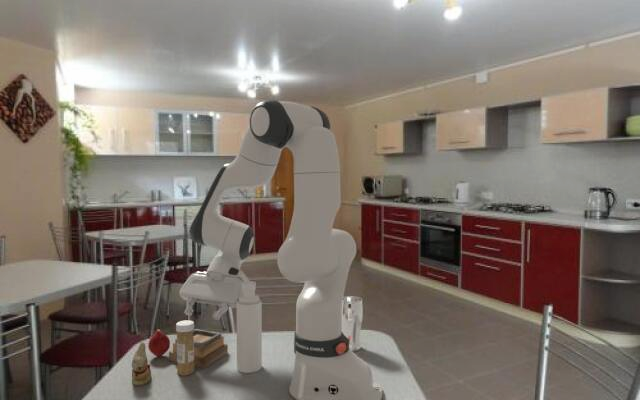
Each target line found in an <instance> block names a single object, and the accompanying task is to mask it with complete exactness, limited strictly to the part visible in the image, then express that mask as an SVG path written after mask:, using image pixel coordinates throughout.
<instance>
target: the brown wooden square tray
mask: <svg viewBox="0 0 640 400" xmlns="http://www.w3.org/2000/svg"><path fill="white" fill-rule="evenodd" d="M193 337H194V367H198V368H202V369H204V368H207V367H208V366H210V365H211V364H213V363H214V362H216V361H218V360H219V359H221V358H222V357H224V356H225V355H227V354H228V352H229V351H228V347H229V346H228V344H227V343H225V341H224V340H225V339H224V338H225V336H224V335H222V333H221V332H217V331H209V330H205V329H198V328H194V331H193ZM174 340H175V342H173V343H172V350H170V351H168V360H169V361H170V362H173V363H177V338H175V339H174Z"/></svg>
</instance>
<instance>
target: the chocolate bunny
mask: <svg viewBox="0 0 640 400" xmlns="http://www.w3.org/2000/svg"><path fill="white" fill-rule="evenodd" d="M148 362H149V361H148V356H147V353H146V343H145V342H144V341H141V342H140V343H139V345H138V348H137V349H136V350H135V353H134V355H133V357H132V361H131V368H132V369H131V383H132V384H133V385H134V386H135V387H136V386H137V387H141V386H144V385H146V384H148V383H149V382H150V381H151V377H152V371H151V365H150V364H148Z"/></svg>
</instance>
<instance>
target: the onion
mask: <svg viewBox="0 0 640 400" xmlns="http://www.w3.org/2000/svg"><path fill="white" fill-rule="evenodd" d="M170 346H171V341H170V338H169V337H168V336H167V334H166V333H164V332H162V331H161V330H160V329H156V332H155V333H154V334H153V335H152V336H151V337H150V338H149V341H148V346H147V348H148V350H149V352H150V353H151V354H152V355H154V356H155V357H156V358H160V357H162V356H164V355H165V354H166V353H167V352H169V349H170V348H171V347H170Z"/></svg>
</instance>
